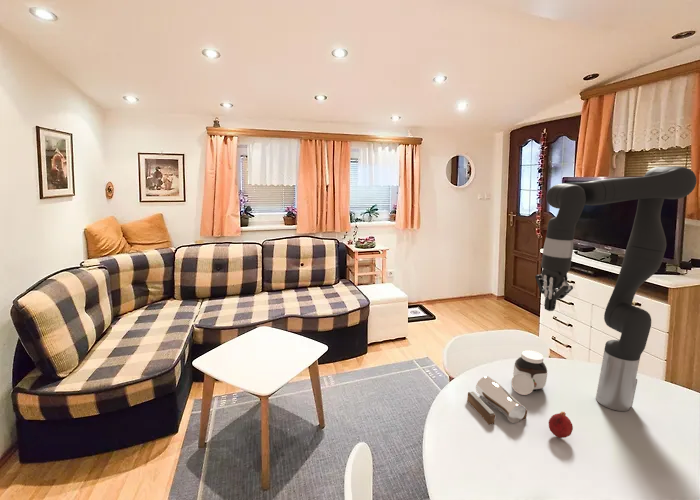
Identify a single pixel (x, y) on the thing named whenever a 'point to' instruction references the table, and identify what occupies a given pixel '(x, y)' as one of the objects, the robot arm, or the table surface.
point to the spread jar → (529, 373)
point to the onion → (560, 425)
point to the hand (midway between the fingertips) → (549, 309)
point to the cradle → (485, 408)
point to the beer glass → (500, 399)
